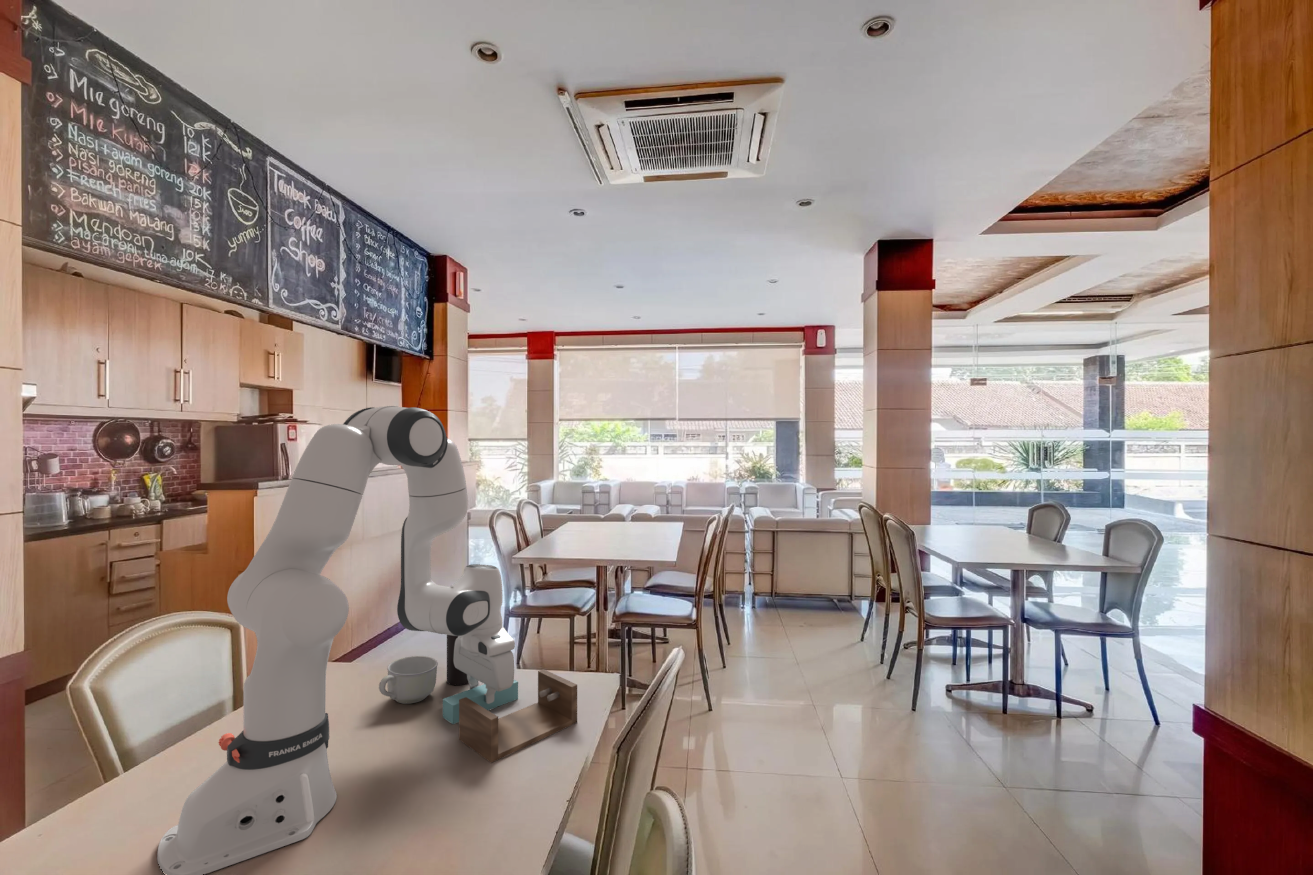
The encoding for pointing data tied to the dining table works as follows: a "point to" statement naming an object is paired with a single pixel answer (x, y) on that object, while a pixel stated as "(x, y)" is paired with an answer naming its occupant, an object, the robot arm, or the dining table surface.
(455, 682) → the bottle
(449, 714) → the shelf board
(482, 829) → the dining table surface
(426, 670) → the teacup
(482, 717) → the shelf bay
